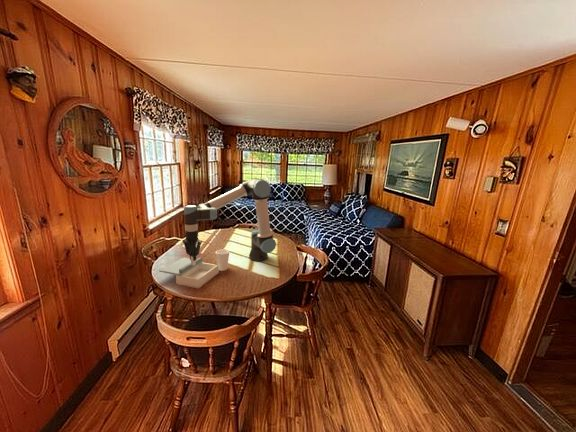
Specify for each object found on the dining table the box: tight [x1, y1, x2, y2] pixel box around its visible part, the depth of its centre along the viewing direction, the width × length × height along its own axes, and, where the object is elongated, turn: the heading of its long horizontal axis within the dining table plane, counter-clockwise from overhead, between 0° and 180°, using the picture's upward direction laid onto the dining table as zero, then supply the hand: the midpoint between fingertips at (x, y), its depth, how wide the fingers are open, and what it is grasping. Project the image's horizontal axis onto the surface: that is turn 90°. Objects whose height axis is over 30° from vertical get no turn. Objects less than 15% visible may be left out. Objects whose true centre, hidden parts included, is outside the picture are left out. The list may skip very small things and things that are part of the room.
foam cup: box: [215, 248, 230, 272], centre depth 170 cm, size 10×9×13 cm
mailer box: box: [175, 262, 220, 289], centre depth 156 cm, size 16×22×6 cm
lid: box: [159, 257, 204, 276], centre depth 158 cm, size 16×22×4 cm
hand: (193, 264), depth 155 cm, fingers closed
